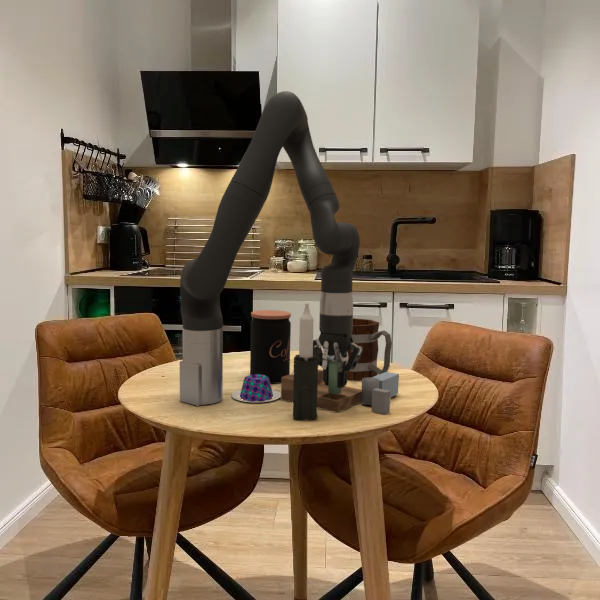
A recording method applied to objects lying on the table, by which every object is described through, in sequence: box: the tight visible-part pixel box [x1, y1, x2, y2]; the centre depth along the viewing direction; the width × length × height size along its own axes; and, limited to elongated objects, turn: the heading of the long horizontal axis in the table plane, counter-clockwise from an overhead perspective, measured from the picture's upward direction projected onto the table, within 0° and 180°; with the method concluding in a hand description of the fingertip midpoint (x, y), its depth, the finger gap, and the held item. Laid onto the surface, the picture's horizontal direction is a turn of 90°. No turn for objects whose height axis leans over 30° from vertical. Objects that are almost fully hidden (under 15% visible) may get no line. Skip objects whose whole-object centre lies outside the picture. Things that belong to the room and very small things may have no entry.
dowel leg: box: [328, 361, 341, 394], centre depth 136 cm, size 3×3×7 cm
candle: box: [292, 302, 319, 421], centre depth 128 cm, size 5×5×25 cm
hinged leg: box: [360, 371, 400, 406], centre depth 142 cm, size 13×4×6 cm, turn 144°
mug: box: [333, 317, 393, 382], centre depth 163 cm, size 20×14×15 cm
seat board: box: [280, 369, 362, 413], centre depth 141 cm, size 12×16×5 cm
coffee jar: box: [249, 309, 292, 384], centre depth 159 cm, size 11×11×18 cm
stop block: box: [371, 388, 391, 415], centre depth 133 cm, size 2×4×5 cm, turn 54°
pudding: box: [231, 374, 281, 403], centre depth 143 cm, size 12×12×5 cm
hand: (334, 385), depth 136 cm, fingers closed on dowel leg, 3 cm apart
